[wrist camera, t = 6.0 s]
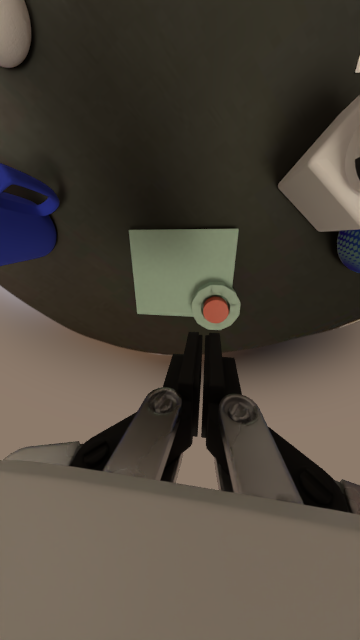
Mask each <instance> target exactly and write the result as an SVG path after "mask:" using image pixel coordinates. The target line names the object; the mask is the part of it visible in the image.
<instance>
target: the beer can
mask: <svg viewBox="0 0 360 640" xmlns="http://www.w3.org/2000/svg"><path fill="white" fill-rule="evenodd" d="M337 251H338V255H339V258H340V260H341V261H342V263H343V264H344V265H345V266H346V267H347V268H349V269H350V270H352V271H354V272H357V273H360V229H357V230H341V231H339V234H338V239H337Z"/></svg>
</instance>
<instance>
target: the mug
mask: <svg viewBox="0 0 360 640" xmlns="http://www.w3.org/2000/svg"><path fill="white" fill-rule="evenodd" d="M12 184H14V185H18V186H22V187H25V188H27V189H30V190H33V191H36V192H39V193H41V194H43V195H46V196H48V199H47V200H46V201H45V202H43V203H42V204H40V205H37V204H35V203H34V202H32V201H30V200H27V199H25V198H21V197H18V196H15V195H12V194H9V193H6V192H3V191H4V190H5V189H6V188H7V187H8V186H10V185H12ZM58 206H59V199H58V197H57V195H56V194H55V192H54V191H53V190H52V189H51V188H50V187H48V186H47V185H46V184H44V183H43V182H41V181H39V180H37V179H35V178H33V177H31V176H29V175H27V174H25V173H23V172H21V171H18V170H16V169H14V168H12V167H9V166H7V165H4V164H2V163H0V266H3V265H7V264H12V263H17V262H21V261H26V260H31V259H35V258H40V257H43V256H45V255H47V254H49V253H50V252H51V251H52V250H53V248H54V246H55V244H56V230H55V227H54V224H53V222H52V220H51V218H50V217H49V214H51V213H53V212H54V211H55V210H56V209H57V208H58Z"/></svg>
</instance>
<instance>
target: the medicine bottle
mask: <svg viewBox="0 0 360 640" xmlns="http://www.w3.org/2000/svg"><path fill="white" fill-rule="evenodd" d="M278 188H279V189H280V191H281V192H282V193H283V194H284V195H285V196H286V197H287V198H288V199H289V200H290V201H291V203H292V204H293V205H294V206H295V207H296V208H297V209H298V210H299V211H300V212H301V213H302V214H303V216H304V217H305V218H306V219H307V220H308V221H309V222H310V223H311V224H312V225H313V226H314V227H315V229H316V230H317V231H319V232H325V231H341V230H357V229H360V95H359V96H358V97H357V98H356V99H355V100H354V101H353V102H352V103H351V104H350V105H348V106H347V107H346V108H345V109H344V110H343V111H342V112H341V113H340V114H339V115H338V116H337V117H336V118H335V120H334V121H333V122H332V123H331V124H330V125H329V126H328V128H327V129H326V130H325V131H324V132H323V133H322V134H321V136H320V137H319V138H318V139H317V140H316V141H315V142H314V144H313V145H312V146H311V147H310V148H309V149H308V150H307V152H306V153H305V154H304V155H303V156H302V157H301V158H300V160H299V161H298V162H297V163H296V164H295V165H294V166H293V168H292V169H291V170H290V171H289V172H288V173H287V174H286V176H285V177H284V178H283V179H282V180H281V181H280V182H279V184H278Z"/></svg>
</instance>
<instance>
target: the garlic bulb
mask: <svg viewBox="0 0 360 640" xmlns="http://www.w3.org/2000/svg"><path fill="white" fill-rule="evenodd" d="M30 43H31V24H30V18H29V14H28V10H27V7H26V4H25V1H24V0H0V66H2V67H5V68H12V67H16V66H18V65H19V64H21V63H22V62H23V60H24V59H25V58H26V56H27V54H28V51H29V48H30Z"/></svg>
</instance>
